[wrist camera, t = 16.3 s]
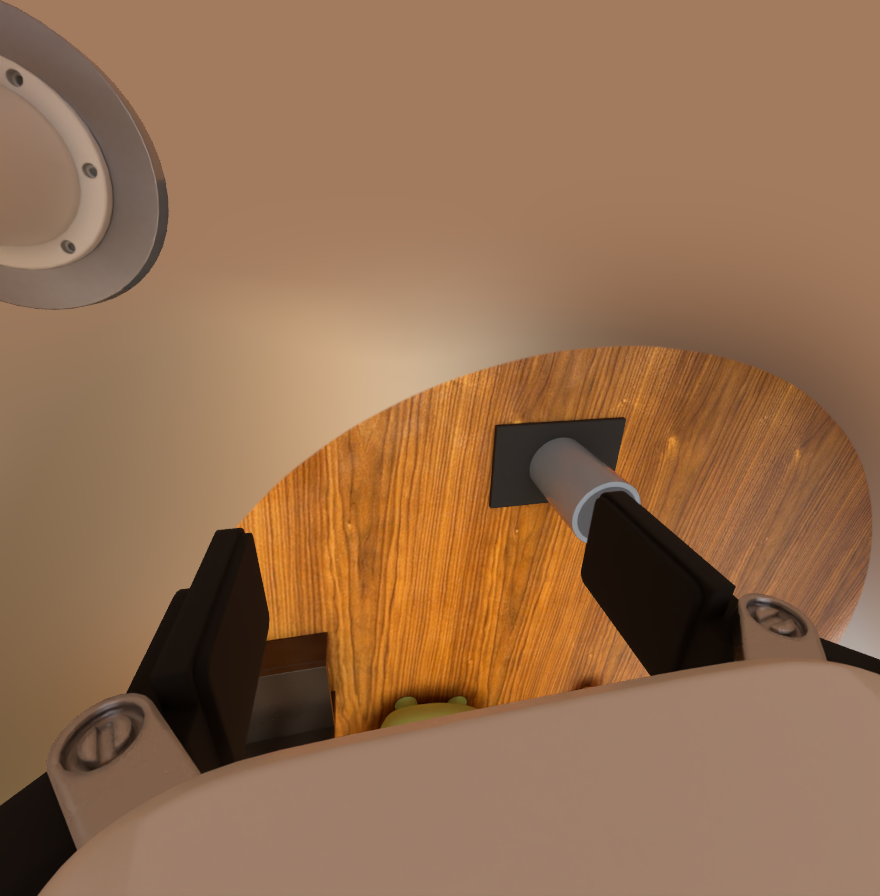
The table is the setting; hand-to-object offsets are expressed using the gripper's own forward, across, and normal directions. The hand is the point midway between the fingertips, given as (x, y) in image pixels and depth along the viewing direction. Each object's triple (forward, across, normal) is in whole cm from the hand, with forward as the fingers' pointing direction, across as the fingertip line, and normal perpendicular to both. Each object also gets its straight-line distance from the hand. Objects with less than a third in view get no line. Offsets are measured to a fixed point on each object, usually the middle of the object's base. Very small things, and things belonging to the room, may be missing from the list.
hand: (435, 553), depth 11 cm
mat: (+30, -20, +14) cm, 39 cm away
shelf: (+30, +13, +41) cm, 53 cm away
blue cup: (+30, -20, +14) cm, 38 cm away
